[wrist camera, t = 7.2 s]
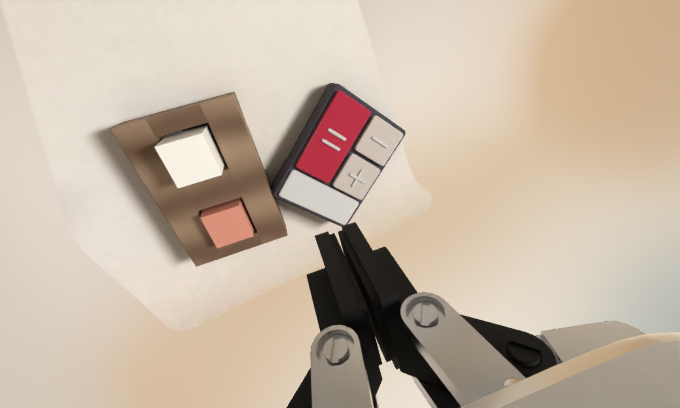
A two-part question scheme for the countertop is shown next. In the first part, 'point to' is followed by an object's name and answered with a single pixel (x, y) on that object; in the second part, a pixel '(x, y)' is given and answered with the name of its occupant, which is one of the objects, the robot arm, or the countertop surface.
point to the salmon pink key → (228, 222)
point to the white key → (191, 156)
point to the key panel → (189, 201)
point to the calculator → (337, 157)
